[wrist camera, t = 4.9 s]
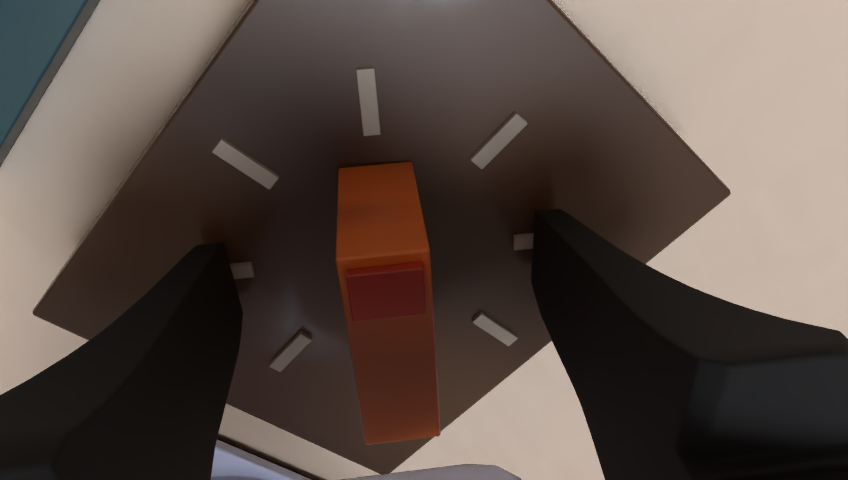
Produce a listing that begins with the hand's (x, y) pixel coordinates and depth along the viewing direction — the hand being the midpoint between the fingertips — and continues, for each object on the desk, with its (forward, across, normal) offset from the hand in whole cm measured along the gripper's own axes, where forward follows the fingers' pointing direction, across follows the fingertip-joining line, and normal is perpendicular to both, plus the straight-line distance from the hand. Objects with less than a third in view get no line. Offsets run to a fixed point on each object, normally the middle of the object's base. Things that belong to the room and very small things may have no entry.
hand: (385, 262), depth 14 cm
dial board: (+3, 0, 0) cm, 3 cm away
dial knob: (0, 0, 0) cm, 0 cm away
